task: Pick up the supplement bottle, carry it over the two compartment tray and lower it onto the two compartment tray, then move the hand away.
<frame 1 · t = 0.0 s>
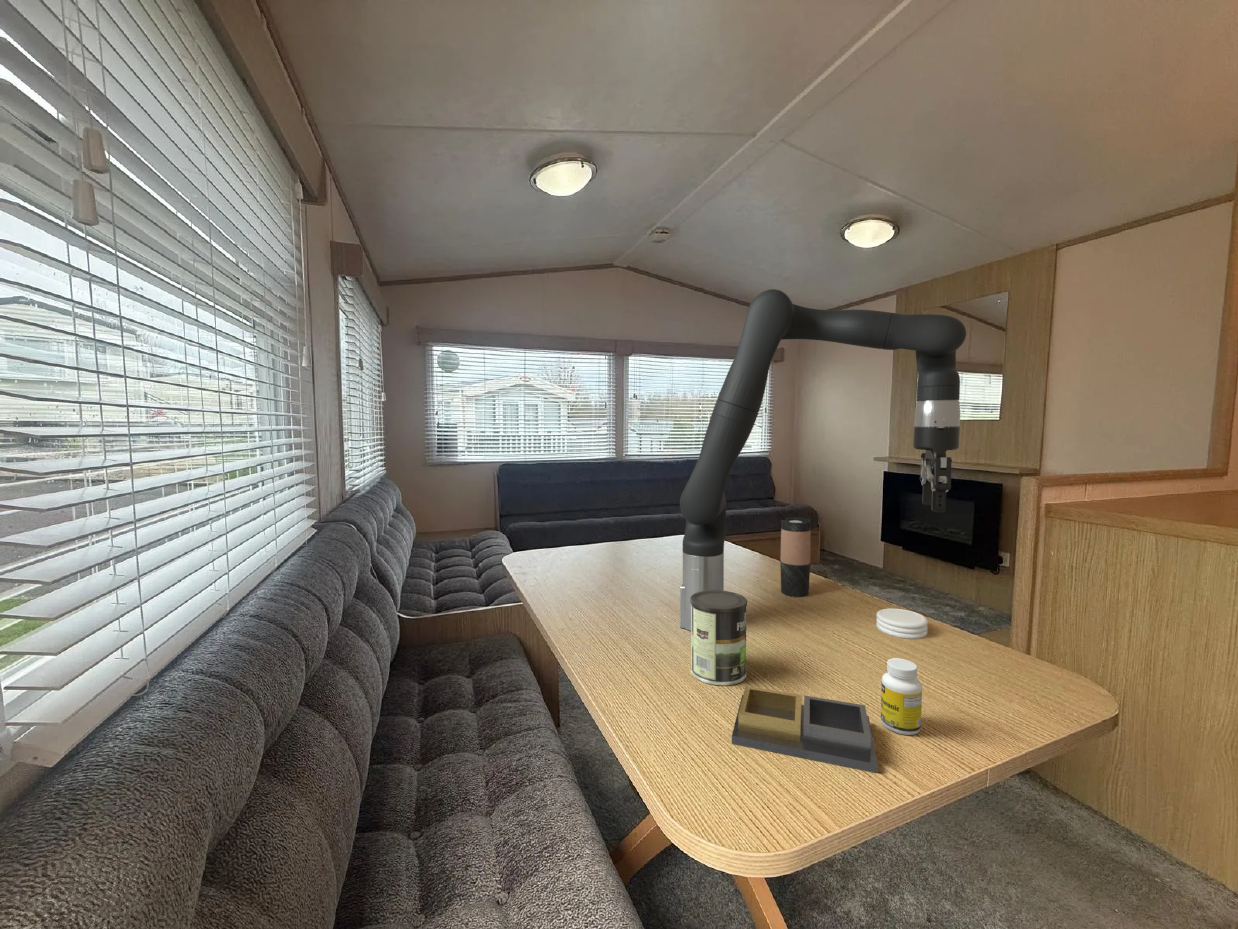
hand: (933, 508, 101), 29 cm above the table, tool pointing down, fingers open, 8 cm apart
coffee can: (718, 673, 97), on the table
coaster: (901, 631, 115), on the table
supplement bottle: (900, 727, 79), on the table
two compartment tray: (802, 733, 77), on the table
travel mug: (794, 593, 141), on the table
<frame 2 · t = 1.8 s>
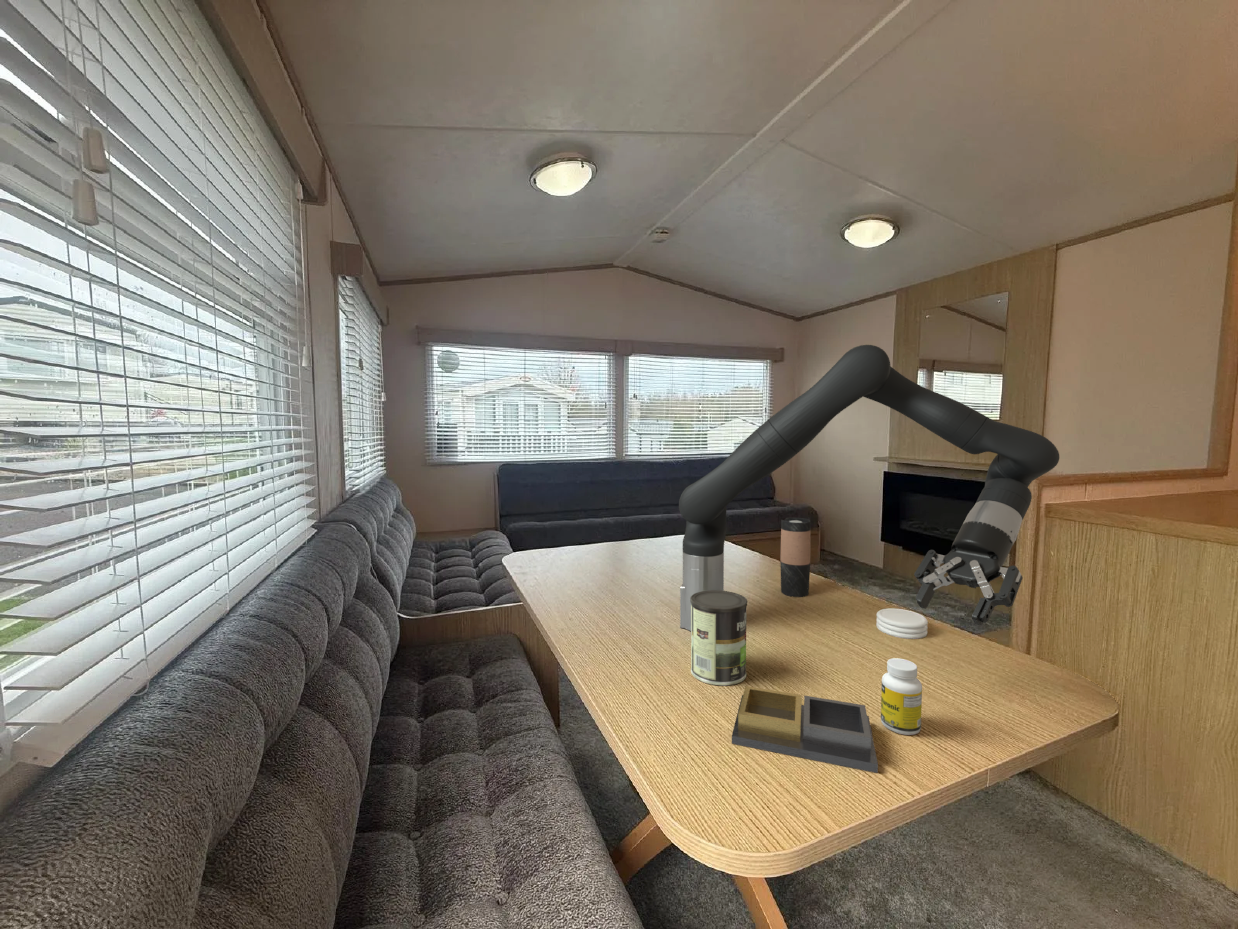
hand: (947, 613, 83), 15 cm above the table, tool tilted 45°, fingers open, 8 cm apart
nothing on the table moved.
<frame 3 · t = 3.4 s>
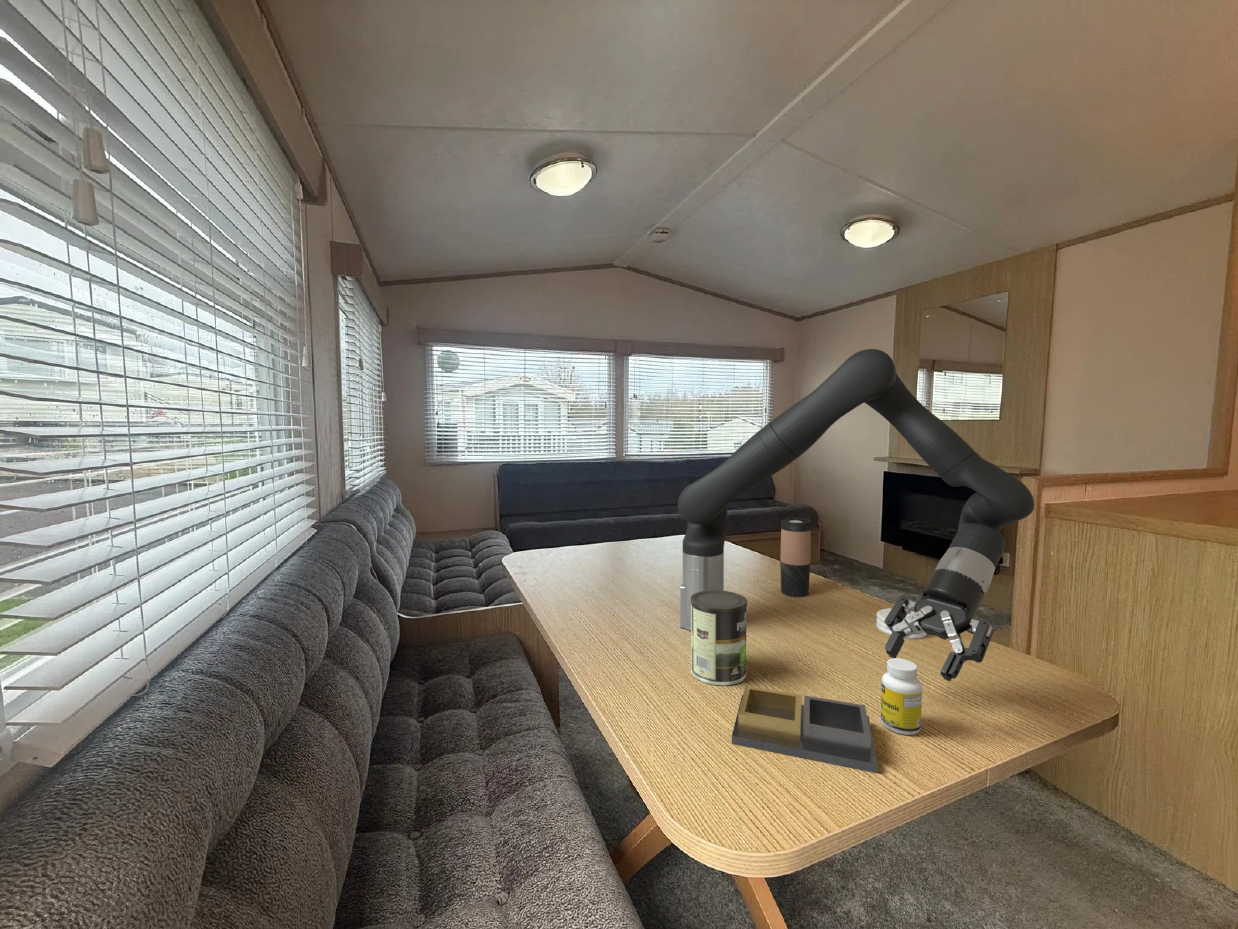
hand: (916, 666, 80), 8 cm above the table, tool tilted 45°, fingers open, 8 cm apart
nothing on the table moved.
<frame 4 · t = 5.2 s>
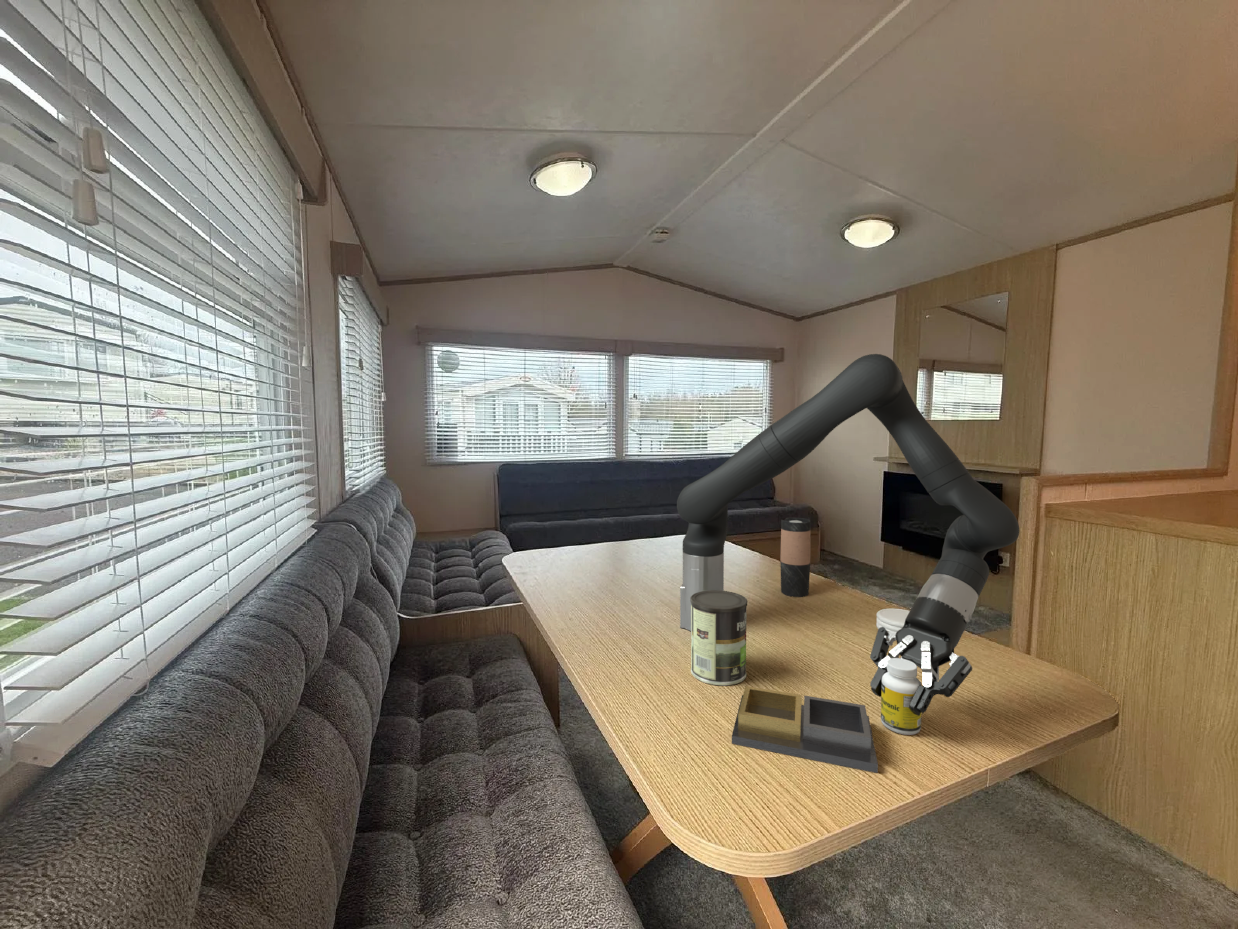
hand: (894, 702, 78), 4 cm above the table, tool tilted 45°, fingers closed on supplement bottle, 5 cm apart
supplement bottle: (900, 727, 79), on the table, touching gripper
everything else where it was.
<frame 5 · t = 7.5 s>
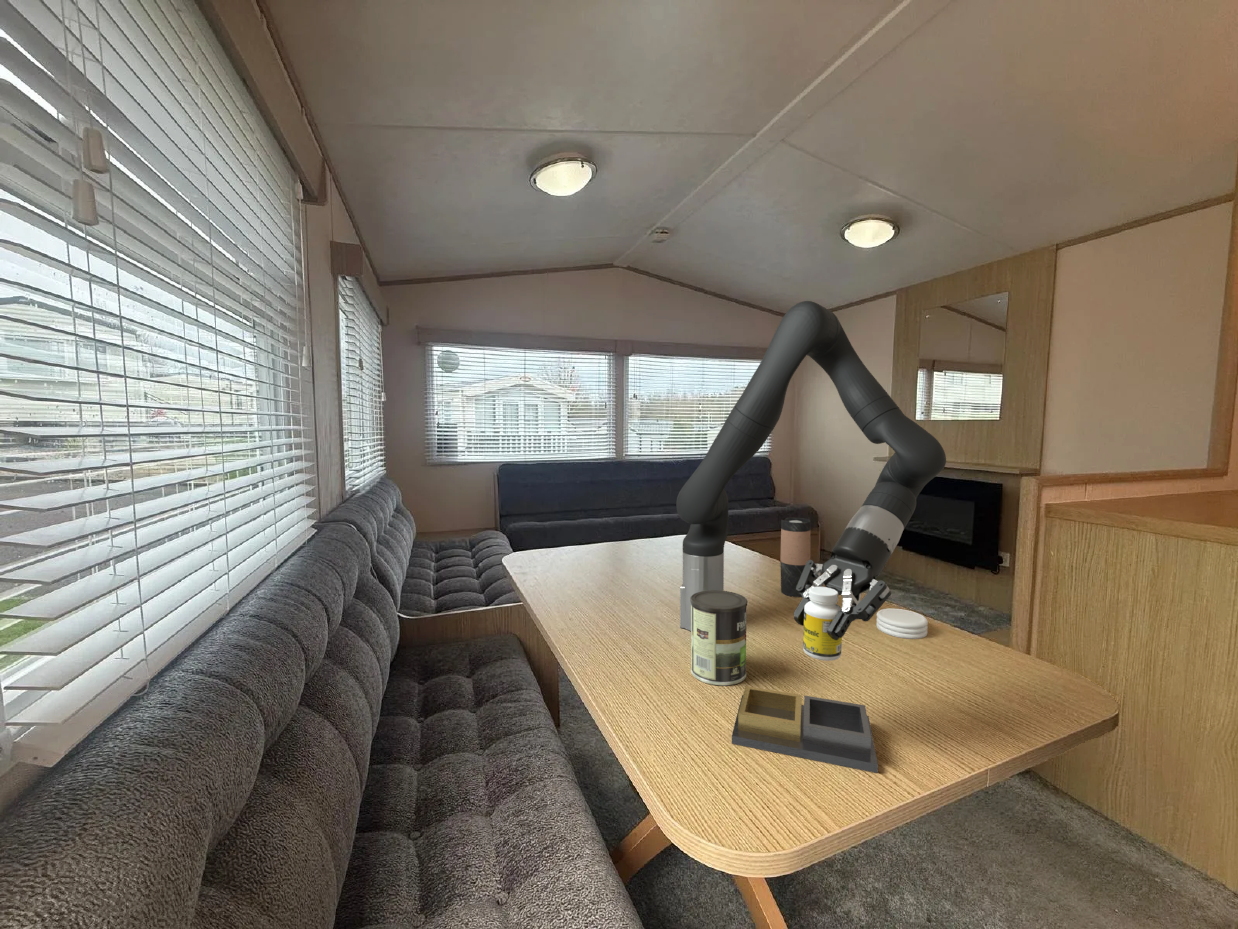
hand: (814, 629, 77), 16 cm above the table, tool tilted 45°, fingers closed on supplement bottle, 5 cm apart
supplement bottle: (821, 655, 79), point 11 cm above the table, touching gripper
everything else where it was.
when the fingers open (7 cm above the table, at t = 10.2 s): supplement bottle drops 2 cm, resting on two compartment tray.
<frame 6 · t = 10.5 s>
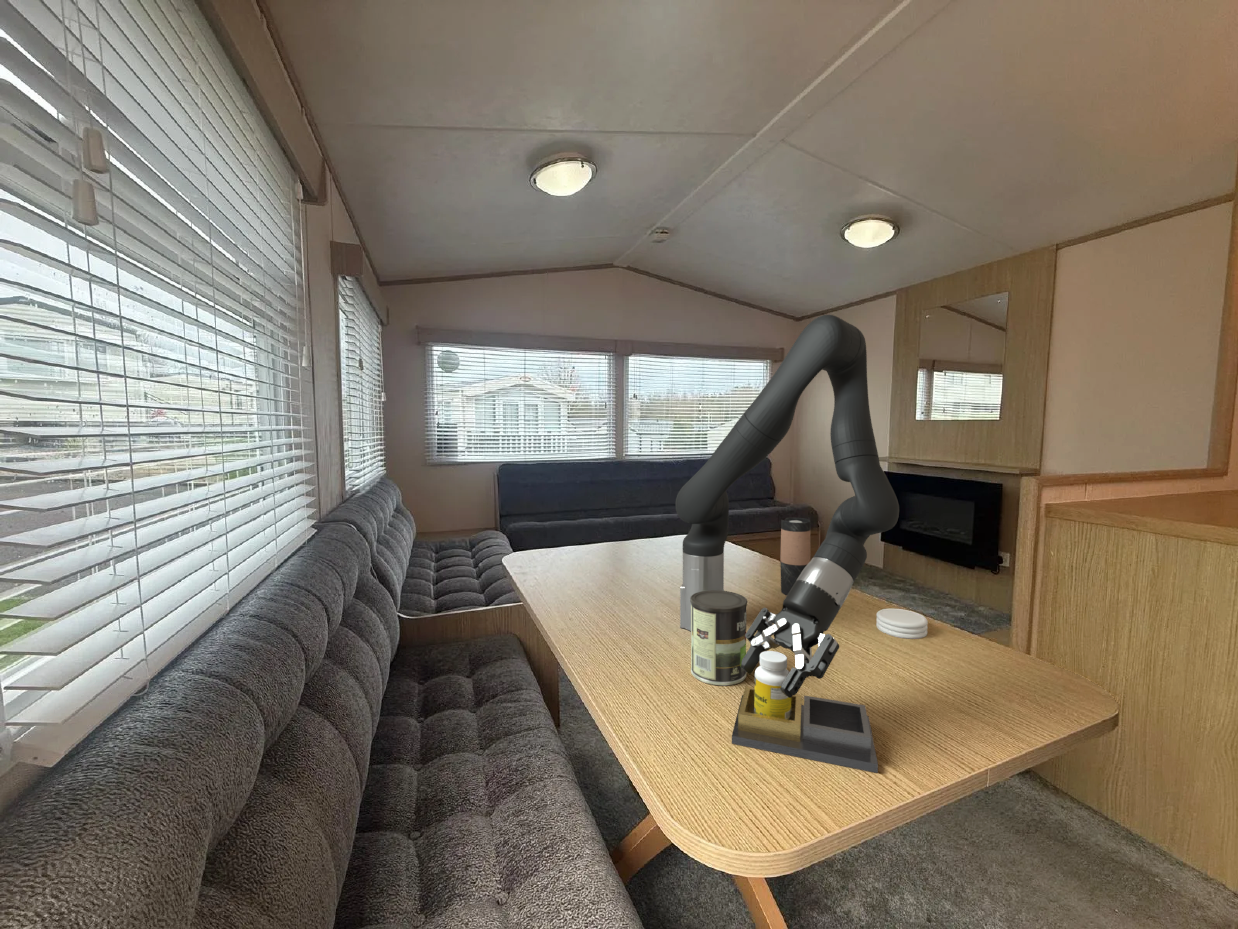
hand: (764, 682, 78), 8 cm above the table, tool tilted 45°, fingers open, 7 cm apart
supplement bottle: (772, 720, 79), point 1 cm above the table, touching two compartment tray
everything else where it was.
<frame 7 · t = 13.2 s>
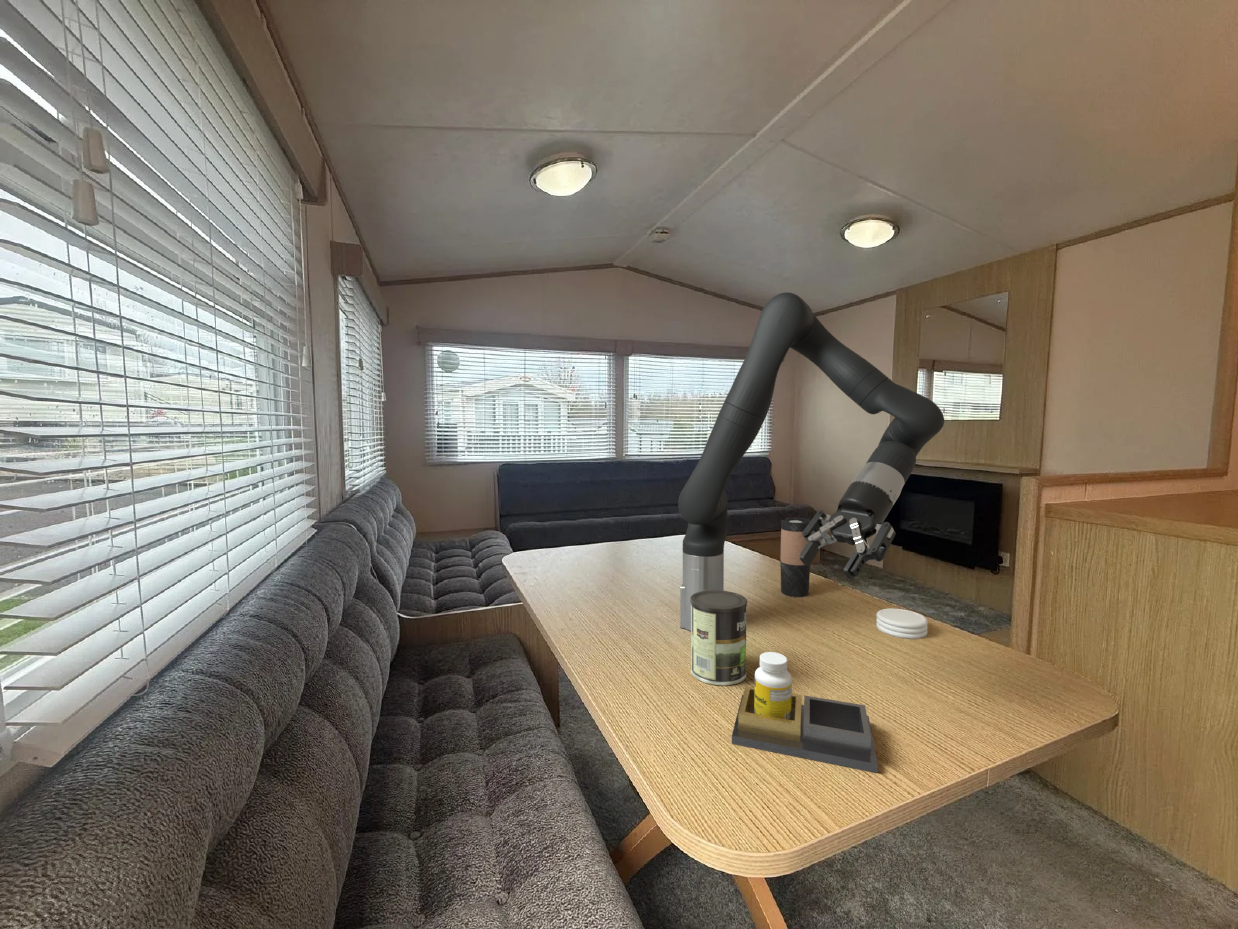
hand: (824, 568, 85), 22 cm above the table, tool tilted 45°, fingers open, 8 cm apart
nothing on the table moved.
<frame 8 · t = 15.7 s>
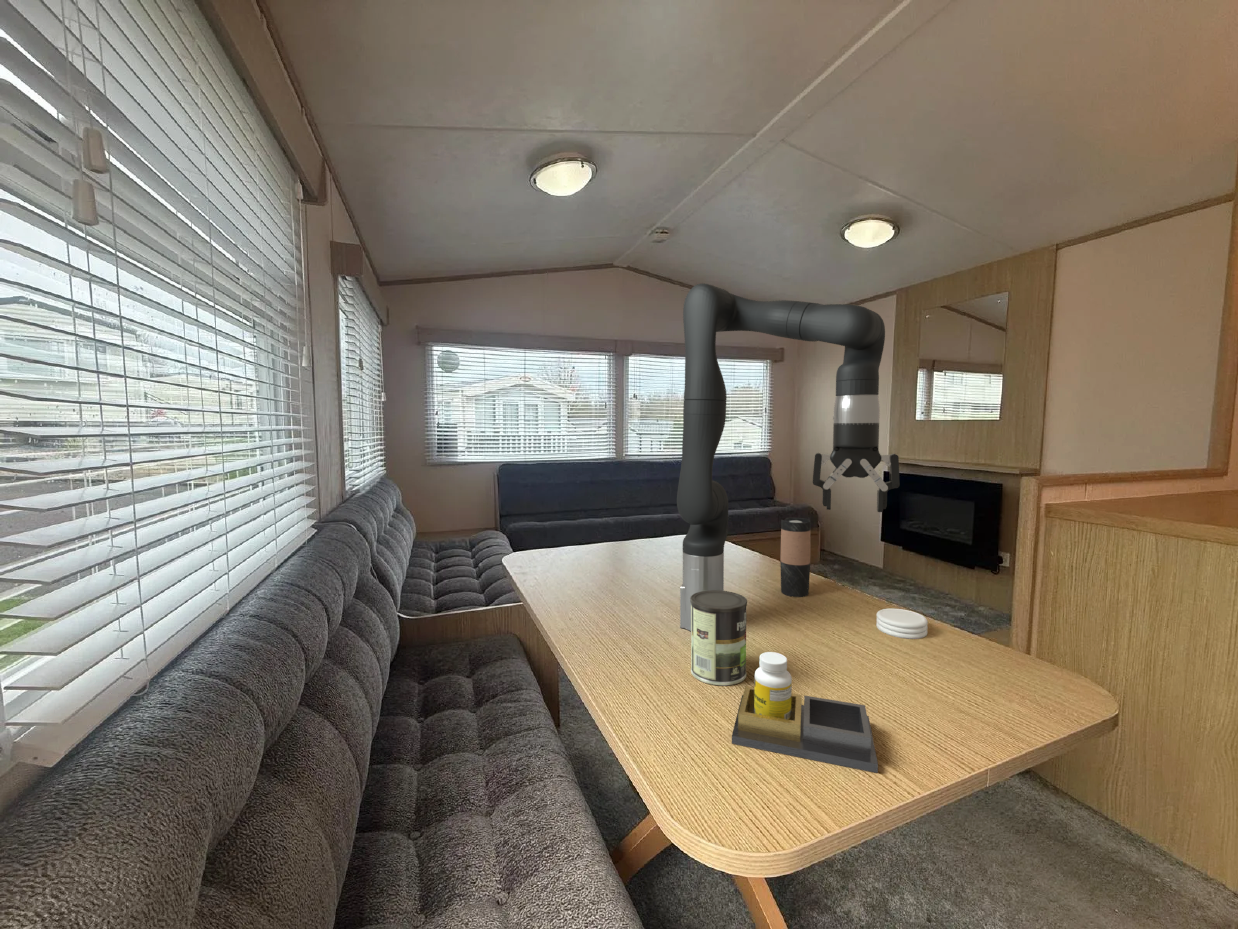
hand: (853, 510, 95), 30 cm above the table, tool pointing down, fingers open, 8 cm apart
nothing on the table moved.
at the end: supplement bottle 0.2 cm from the target spot, point 1.0 cm above the table; supplement bottle tilted 1°; the gripper is holding nothing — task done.
